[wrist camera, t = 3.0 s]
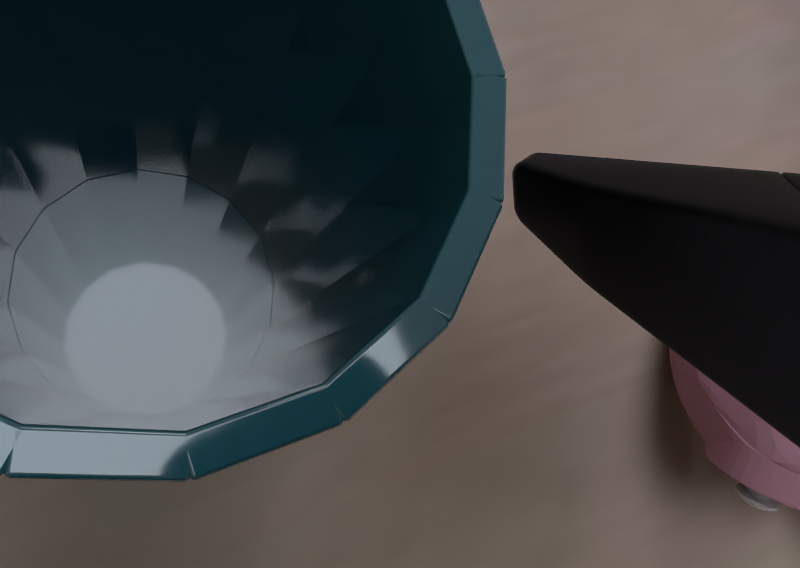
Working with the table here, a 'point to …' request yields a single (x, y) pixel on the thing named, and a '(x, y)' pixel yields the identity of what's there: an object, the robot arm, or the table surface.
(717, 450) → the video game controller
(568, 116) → the table surface
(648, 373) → the table surface
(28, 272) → the pen cup
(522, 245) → the table surface
